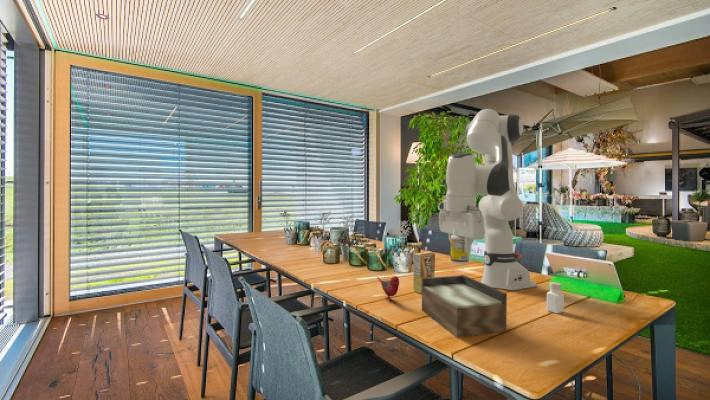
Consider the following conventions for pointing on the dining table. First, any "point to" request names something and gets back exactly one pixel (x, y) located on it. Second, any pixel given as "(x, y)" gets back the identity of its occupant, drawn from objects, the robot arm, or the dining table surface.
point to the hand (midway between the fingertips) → (460, 250)
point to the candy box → (423, 269)
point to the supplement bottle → (458, 249)
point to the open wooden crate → (464, 305)
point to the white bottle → (555, 298)
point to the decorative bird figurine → (390, 286)
